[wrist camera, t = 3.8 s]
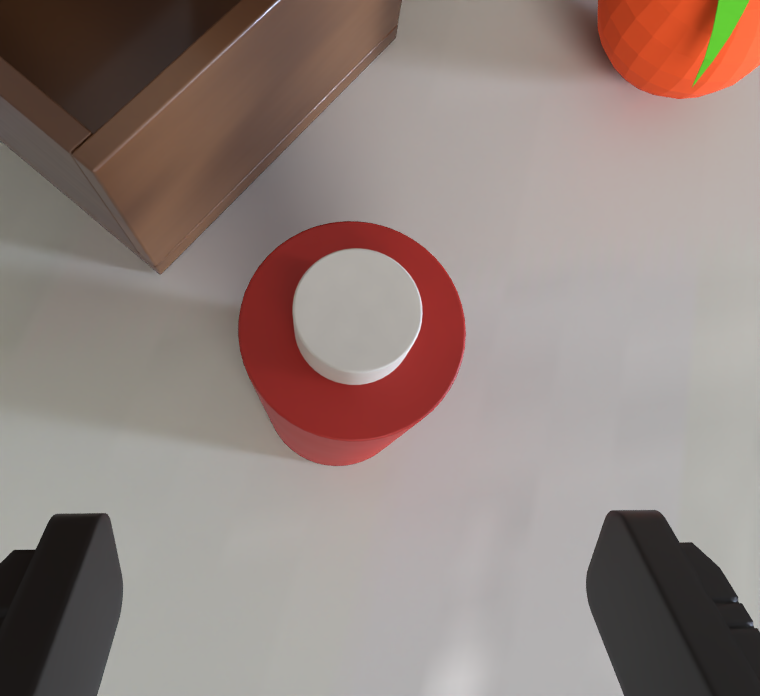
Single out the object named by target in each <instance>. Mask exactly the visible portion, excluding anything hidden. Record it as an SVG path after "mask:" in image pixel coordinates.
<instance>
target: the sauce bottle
mask: <svg viewBox="0 0 760 696" xmlns="http://www.w3.org/2000/svg"><path fill="white" fill-rule="evenodd" d="M465 336H466V331H465V318H464V313H463V308H462V304H461V301H460V298H459V295H458V292H457V290H456V288H455V286H454V284H453V282H452V280H451V278H450V277H449V275H448V274H447V272H446V271H445V269H444V268H443V266H442V265H441V264H440V263H439V262H438V261H437V259H436V258H435V257H434V256H433V255H432V254H431V253H430V252H428V251H427V250H426V249H425V248H424V247H423V246H421V245H420V244H419V243H417V242H416V241H414V240H413V239H411V238H409V237H408V236H406V235H404V234H402V233H400V232H398V231H395V230H393V229H390V228H388V227H384V226H381V225H377V224H373V223H366V222H351V221H344V222H335V223H328V224H324V225H320V226H316V227H313V228H310V229H308V230H305V231H302V232H301V233H299V234H297V235H295V236H293V237H291V238H289V239H288V240H287V241H285V242H284V243H282V244H281V245H280V246H278V247H277V248H276V249H275V250H274V251H273V252H272V253H271V254H269V255H268V256H267V258H266V259H265V260H264V261H263V262H262V264H261V265H260V266H259V267H258V269H257V270H256V272H255V274H254V275H253V277H252V278H251V280H250V282H249V285H248V287H247V289H246V291H245V294H244V297H243V301H242V304H241V308H240V315H239V323H238V337H239V345H240V352H241V355H242V359H243V363H244V366H245V368H246V371H247V373H248V376H249V378H250V380H251V382H252V384H253V386H254V388H255V390H256V392H257V394H258V396H259V398H260V400H261V402H262V404H263V406H264V408H265V410H266V412H267V414H268V416H269V418H270V420H271V422H272V424H273V426H274V428H275V430H276V431H277V433H278V435H279V436H280V438H281V439H282V440H283V441H284V443H285V444H286V445H287V446H289V447H290V448H291V449H292V450H293V451H294V452H296V453H297V454H298V455H300V456H302V457H304V458H306V459H308V460H310V461H313V462H315V463H319V464H323V465H331V466H344V465H351V464H355V463H358V462H362V461H364V460H366V459H368V458H371V457H372V456H374V455H375V454H377V453H379V452H380V451H381V450H383V449H384V448H385V447H387V446H388V445H389V444H390V443H392V442H393V441H394V440H396V439H397V438H398V437H400V436H401V435H402V434H404V433H405V432H406V431H408V430H409V429H410V428H412V427H413V426H414V425H415V424H417V423H418V422H419V421H421V420H422V419H423V418H424V417H426V416H427V415H428V414H429V413H430V412H432V411H433V410H434V409H435V407H436V406H437V405H438V404H439V403H440V402H441V401H442V400H443V398H444V397H445V395H446V394H447V393H448V391H449V390H450V388H451V386H452V384H453V382H454V380H455V378H456V377H457V374H458V371H459V368H460V366H461V363H462V359H463V354H464V349H465Z"/></svg>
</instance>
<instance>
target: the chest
mask: <svg viewBox="0 0 760 696" xmlns="http://www.w3.org/2000/svg"><path fill="white" fill-rule="evenodd" d="M401 2H402V0H0V140H1V141H2V142H3V143H4V144H5V145H7V146H8V147H9V148H10V149H11V150H13V151H14V152H15V153H16V154H17V155H18V156H20V157H21V158H22V159H23V160H24V161H26V162H27V163H28V164H29V165H30V166H32V167H33V168H34V169H35V170H36V171H37V172H39V173H40V174H41V175H42V176H43V177H45V178H46V179H47V180H48V181H49V182H51V183H52V184H53V185H54V186H55V187H57V188H58V189H59V190H60V191H61V192H62V193H64V194H65V195H66V196H67V197H68V198H70V199H71V200H72V201H73V202H74V203H76V204H77V205H78V206H79V207H80V208H81V209H83V210H84V211H85V212H86V213H87V214H89V215H90V216H91V217H92V218H93V219H95V220H96V221H97V222H98V223H99V224H100V225H102V226H103V227H104V228H105V229H106V230H108V231H109V232H110V233H111V234H112V235H114V236H115V237H116V238H117V239H118V240H119V241H121V242H122V243H123V244H124V245H125V246H127V247H128V248H129V249H130V250H131V251H133V252H134V253H135V254H136V255H137V256H138V257H140V258H141V259H142V260H143V261H144V262H146V263H147V264H148V265H149V266H150V267H152V268H153V269H154V270H155V271H156V272H157V273H159V274H162V273H163V272H164V271H165V270H166V269H167V268H168V267H169V266H170V265H171V264H172V263H173V262H174V261H175V260H176V259H177V258H178V257H179V256H180V255H181V254H182V253H183V252H184V251H185V250H186V249H187V248H188V247H189V246H190V245H191V244H192V243H193V242H194V241H195V240H196V238H197V237H198V236H199V235H200V234H201V233H202V232H203V231H204V230H205V229H206V228H207V227H208V226H209V225H210V224H211V223H212V222H213V221H214V220H215V219H216V218H217V217H218V216H219V215H220V214H221V213H222V212H223V211H224V210H225V209H226V208H227V207H228V206H229V205H230V204H231V203H232V202H233V201H234V200H235V199H236V198H237V197H238V196H239V195H240V194H241V193H242V192H243V191H244V190H245V189H246V188H247V187H248V186H249V185H250V184H251V183H252V182H253V181H254V180H255V179H256V178H257V177H258V176H259V175H260V174H261V173H262V172H263V171H264V170H265V169H266V168H267V167H268V166H269V165H270V164H271V163H272V162H273V161H274V160H275V159H276V158H277V157H278V156H279V155H280V154H281V153H282V152H283V151H284V150H285V149H286V148H287V147H288V146H289V145H290V144H291V143H292V142H293V141H294V140H295V139H296V138H297V137H298V136H299V135H300V134H301V133H302V132H303V131H304V130H305V129H306V128H307V127H308V126H309V125H310V124H311V123H312V122H313V121H314V120H315V119H316V118H317V117H318V116H319V115H320V114H321V113H322V112H323V111H324V110H325V109H326V107H327V106H328V105H329V104H330V103H331V102H332V101H333V100H334V99H335V98H336V97H337V96H338V95H339V94H340V93H341V92H342V91H343V90H344V89H345V88H346V87H347V86H348V85H349V84H350V83H351V82H352V81H353V80H354V79H355V78H356V77H357V76H358V75H359V74H360V73H361V72H362V71H363V70H364V69H365V68H366V67H367V66H368V65H369V64H370V63H371V62H372V61H373V60H374V59H375V58H376V57H377V56H378V55H379V54H380V53H381V52H382V51H383V50H384V49H385V48H386V47H387V46H388V45H389V44H390V43H391V42H392V41H393V40H394V39H395V38H396V33H397V27H398V25H397V24H398V19H399V13H400V8H401Z"/></svg>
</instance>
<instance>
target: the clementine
mask: <svg viewBox="0 0 760 696" xmlns="http://www.w3.org/2000/svg"><path fill="white" fill-rule="evenodd" d="M597 28H598V32H599V36H600V40H601V44H602V47H603V48H604V50H605V52H606V54H607V56H608V58H609V59H610V61H611V63H612V65H613V67H614V68H615V69H616V70H617V71H618V73H619V74H620V75H621V76H622V77H623V78H624V79H625V80H626V81H628V82H629V83H631V84H632V85H634V86H635V87H636V88H638V89H640V90H643V91H645V92H648V93H650V94H653V95H658V96H665V97H671V98H677V99H683V98H694V97H700V96H703V95H706V94H710V93H713V92H716V91H718V90H721V89H724V88H726V87H729V86H731V85H733V84H735V83H736V82H738V81H739V80H740V79H742V78H743V77H744V76H746V75H747V74H749V73H750V72H751V71H752V70H754V69H755V68H756V67H758V66H759V65H760V0H598V26H597Z"/></svg>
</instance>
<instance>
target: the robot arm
mask: <svg viewBox="0 0 760 696" xmlns="http://www.w3.org/2000/svg"><path fill="white" fill-rule="evenodd" d="M586 590H587V598H588V603H589V606H590V609H591V612H592V615H593V617H594V620H595V622H596V625H597V628H598V630H599V633H600V635H601V638H602V640H603V643H604V645H605V648H606V650H607V653H608V655H609V658H610V661H611V663H612V666H613V668H614V671H615V673H616V676H617V678H618V681H619V683H620V686H621V689H622V691H623V694H624V696H760V632H759V630H758V629H757V628H754V626H753V621H752V619H751V617H750V616H749V614H748V613H747V611H746V609H745V608H744V606H743V604H742V603H739V602H738V596H737V595H736V593H735V592H734V590H733V588H732V587H731V585H730V583H729V582H728V580H727V579H726V577H725V575H724V574H723V572H722V571H721V569H720V568H719V567H718V566H717V565H716V564H715V563H714V562H713V561H712V560H711V559H710V558H708V557H707V556H706V555H705V554H704V553H703V552H702V551H701V550H700V549H699V548H697V547H696V546H695V545H694V544H693V543H692V542H691V543H679V541H678V539H677V538H676V536H675V534H674V532H673V531H672V529H671V527H670V526H669V524H668V522H667V520H666V519H665V517H664V516H663V515H662V514H661V513H660V512H659V511H656V510H613V511H610V512H609V513H608V514H607V516H606V518H605V520H604V523H603V526H602V529H601V532H600V535H599V538H598V541H597V544H596V547H595V550H594V553H593V556H592V559H591V562H590V565H589V568H588V571H587V578H586ZM122 598H123V580H122V573H121V569H120V564H119V559H118V554H117V549H116V544H115V540H114V535H113V530H112V525H111V521H110V518H109V516H108V514H106V513H87V514H55V515H53V516H52V517H51V519H50V520H49V522H48V524H47V526H46V528H45V531H44V533H43V535H42V537H41V539H40V542H39V544H38V546H37V548H36V550H13V551H12V552H11V553H10V554H9V555H8V556H7V557H6V558H5V559H4V560H3V561H2V562H1V563H0V696H97V694H98V690H99V687H100V683H101V680H102V676H103V673H104V669H105V666H106V662H107V659H108V656H109V652H110V649H111V645H112V642H113V638H114V635H115V631H116V628H117V624H118V621H119V617H120V612H121V607H122Z"/></svg>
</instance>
